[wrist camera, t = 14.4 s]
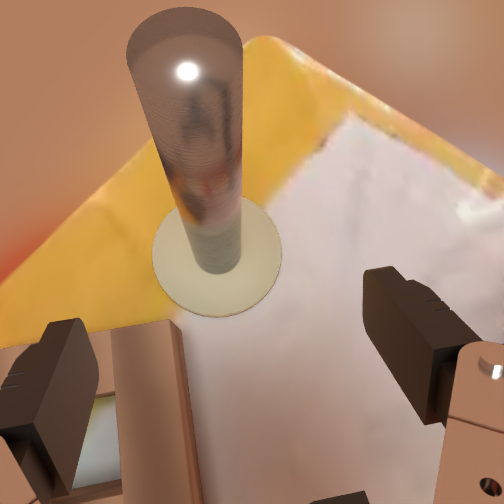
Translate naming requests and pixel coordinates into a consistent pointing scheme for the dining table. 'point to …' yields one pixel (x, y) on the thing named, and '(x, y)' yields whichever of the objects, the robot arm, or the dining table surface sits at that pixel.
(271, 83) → the dining table surface
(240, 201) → the metallic grey cylinder
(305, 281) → the dining table surface
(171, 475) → the brown square frame
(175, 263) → the mat
